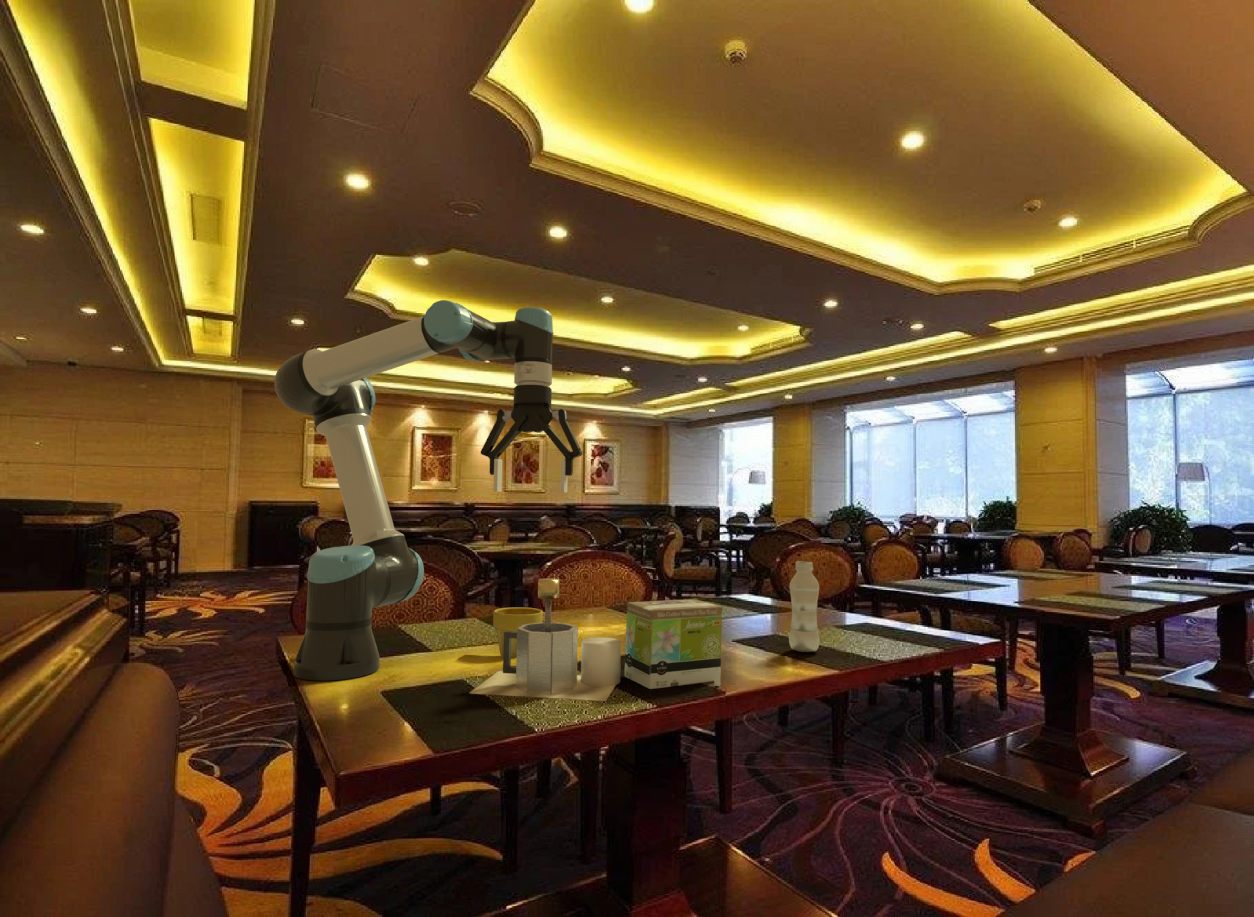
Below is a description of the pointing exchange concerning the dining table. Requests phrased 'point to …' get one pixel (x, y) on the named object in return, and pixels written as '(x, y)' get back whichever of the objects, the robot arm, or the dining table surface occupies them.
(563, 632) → the silver faceted mug
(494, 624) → the plant pot
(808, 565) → the plastic bottle
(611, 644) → the white cylindrical canister
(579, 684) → the serving board
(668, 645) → the tea box
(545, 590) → the plunger
